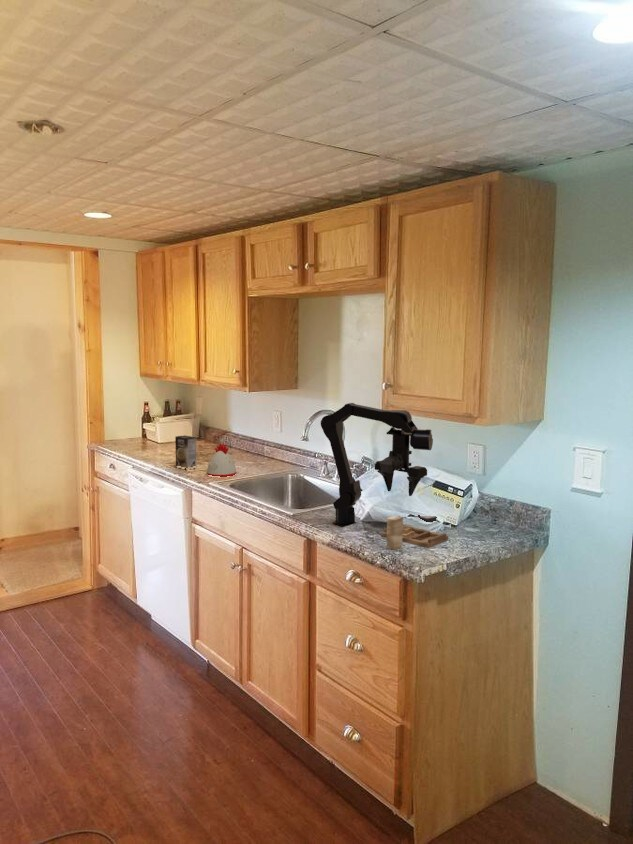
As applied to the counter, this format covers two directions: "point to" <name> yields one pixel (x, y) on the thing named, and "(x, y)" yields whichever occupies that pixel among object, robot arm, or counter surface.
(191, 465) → the coffee box
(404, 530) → the oak offcut upper
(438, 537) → the rack
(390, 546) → the tan wooden block
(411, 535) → the oak offcut lower
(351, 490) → the robot arm
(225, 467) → the grey pompom beanie
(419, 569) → the counter surface
